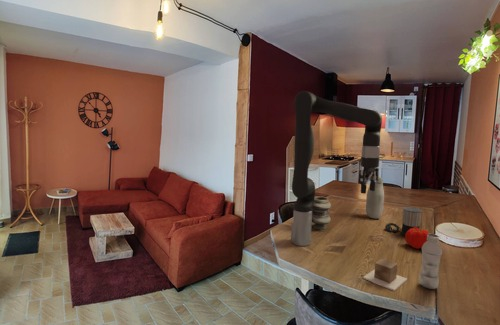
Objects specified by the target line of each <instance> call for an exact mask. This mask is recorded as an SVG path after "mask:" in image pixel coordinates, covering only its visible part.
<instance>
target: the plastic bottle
mask: <svg viewBox="0 0 500 325" xmlns="http://www.w3.org/2000/svg"><path fill="white" fill-rule="evenodd" d="M439 237H440V236H439V235H438V234H433V233H429V234H428V235H427V241H426V242H425V243H424V244H423V246H422V249H421V256H422V257H421V267H420V272H419V275H418V282H419V284H420V285H421V286H422V287H424V288H425V289H429V290H435V289H437V288H438V286H439V285H440V284H439V282H440V281H439V278H440V277H439V266H440V261H441V257H442V254H443V250H442V247H441V245H440V244H439V241H440V239H439Z"/></svg>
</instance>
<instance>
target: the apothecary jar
mask: <svg viewBox="0 0 500 325" xmlns="http://www.w3.org/2000/svg"><path fill="white" fill-rule="evenodd" d="M331 207H332V204H331V202H330V201H329V198H328V197H327V196H326V197H325V196H318V195H317V196H315V198H314V205H313V207H312V223H313V224H312V226H311V230H314V231H320V232H323V231H324V232H325V231H328V230H329V227H328V226H327V224H329V223H330V222H331V219H332V218H331V216H330V215H329V212H330V208H331Z"/></svg>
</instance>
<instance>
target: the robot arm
mask: <svg viewBox="0 0 500 325" xmlns="http://www.w3.org/2000/svg"><path fill="white" fill-rule="evenodd" d="M312 112H316V113H322V114H326V115H329V116H331V117H335V118H338V119H341V120H345V121H348V122H352V123H353V122H354V123H357V124H360V125H363V126H364V133H363V136H362V146H361V147H362V148H361V151H360V152H361V153H360V155H361V156H360V167H363V169H362V170H361V169H360V170H359V171H358V179H357V180H358V181H357V184H359V185H360V194H364V195H365V194H367V186H368V185H367V184H368V183H369V185H370V191H375V183H376V181H378V176H380V175H379V170H380V168H379V166H380V155H381V152H380V151H381V150H380V146H381V145H380V144H381V132H382V124H383V116H382V114H381V113H380V112H379V111H377V110H375V109H370V108H365V107H359V106H357V105H354V104H350V103H345V102H341V101H340V102H338V101H333V100H328V99H326V98H325V99H324V98H322V97H319V96H317V95H315V94H314V93H313V92H310V91H306V90H302V91H299V92H298V93H297V94H296V95H295V98H294V114H295V126H294V147H293V148H294V150H293V151H294V152H293V153H294V157H293V158H294V160H293V174H292V183H291V190H292V192H291V193H292V194H293V195H294V196H295V197H296V200H295V202H294V203H293V218H292V223H291V226H290V228H291V229H290V230H291V231H290V242H292V244H294V245H295V246H299V247H308V246H310V245H311V244H312V240H311V239H312V228H311V226H312V225H313V224H312V223H313V222H312V207H313V205H314V198H315V197H316V196H315V194H316V186H315V185H316V183H315V182H314V180H312V179H311V178H310V177H308V175H309V167H310V164H311V161H312V158H313V156H314V149H315V148H314V147H315V146H314V144H315V139H314V138H315V137H314V132H313V127H312V121H311V120H312V119H311V117H312Z"/></svg>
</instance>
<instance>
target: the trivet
mask: <svg viewBox="0 0 500 325" xmlns="http://www.w3.org/2000/svg"><path fill="white" fill-rule="evenodd" d="M374 274H375V268H374V269H373V270H371V271H369V272H368V273H367V274H365V275H364V276H363V277H362V279H363V280H367V281H369V282H371V283H373V284H375V285H379V286H381V287H384V288H386V289H388V290H391V291H394V292H395V291H397V290H398V289H399V288H400V287H401V286H403V285H404V283H406V282H407V281H408V278H407V277H404V276H401V275H398V274H397V276H396V279H395V280H394V281H392V282H391V283H387V282H385V281H382V280H380V279H377V278H375V277H374Z"/></svg>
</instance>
